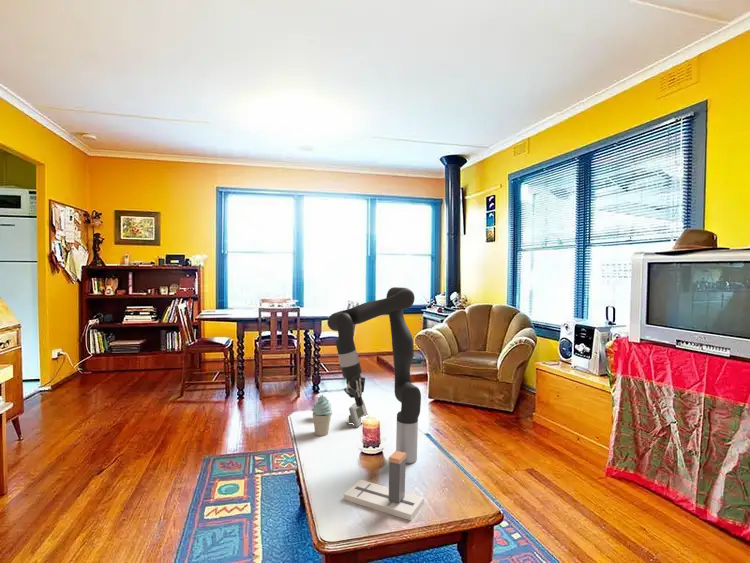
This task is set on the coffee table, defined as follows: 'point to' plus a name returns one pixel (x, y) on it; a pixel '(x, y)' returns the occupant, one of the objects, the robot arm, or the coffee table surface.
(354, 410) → the digital clock
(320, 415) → the ice cream cone
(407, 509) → the plate
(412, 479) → the coffee table surface
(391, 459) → the post
